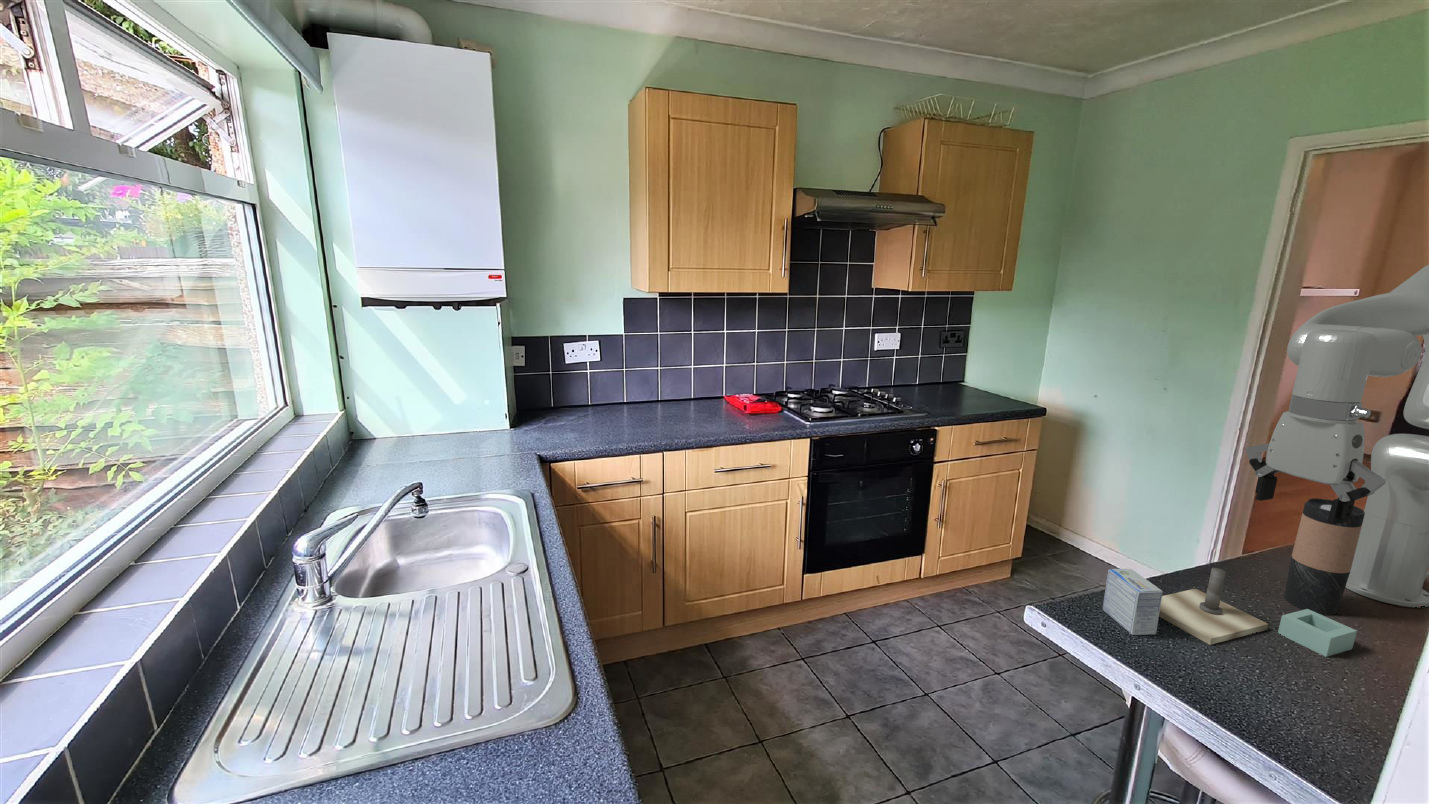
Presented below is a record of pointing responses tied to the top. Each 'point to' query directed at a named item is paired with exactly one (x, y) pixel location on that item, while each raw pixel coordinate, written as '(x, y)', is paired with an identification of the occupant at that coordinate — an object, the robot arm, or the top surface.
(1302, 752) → the top surface
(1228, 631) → the board
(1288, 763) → the top surface
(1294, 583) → the travel mug
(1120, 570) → the medicine box
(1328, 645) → the ring
